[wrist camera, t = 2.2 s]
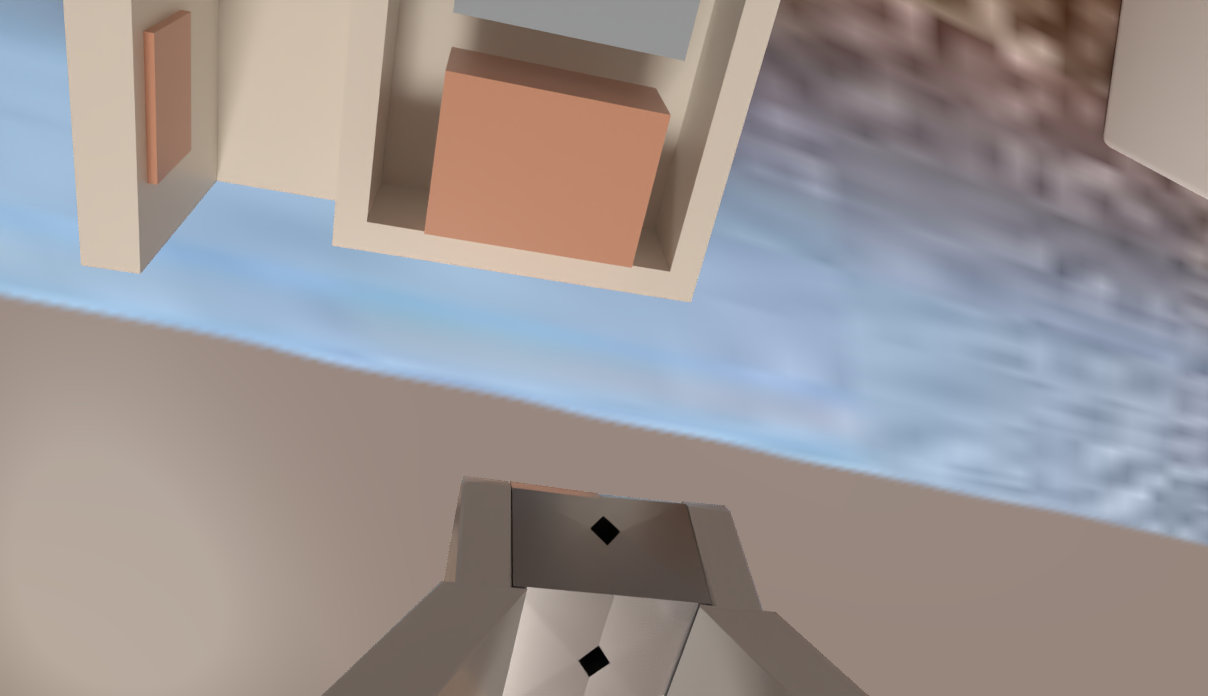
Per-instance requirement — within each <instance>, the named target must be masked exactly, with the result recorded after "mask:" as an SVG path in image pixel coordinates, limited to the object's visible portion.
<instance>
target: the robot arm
mask: <svg viewBox="0 0 1208 696" xmlns="http://www.w3.org/2000/svg"><path fill="white" fill-rule="evenodd" d="M322 696H868V695H867V694H866V693H865V692H864V691H863V690H862V689H860V688H859V687H858V686H857V685H856V684H855V683H854V682H853V681H852V680H851V679H850V678H848V677H847V676H846V675H845V674H844V673H843V672H842V671H841V670H840V669H838V668H837V667H836V666H835V665H834V664H833V663H832V662H831V661H829V660H828V659H827V658H826V657H825V656H824V655H823V654H822V653H821V652H819V651H818V650H817V649H816V648H815V647H814V646H813V645H812V644H811V643H810V642H808V641H807V640H806V639H805V638H804V637H803V636H802V635H801V634H800V633H798V632H797V631H796V630H795V629H794V628H793V627H792V626H790V624H788V623H787V622H786V621H785V620H784V619H783V618H782V617H781V616H779V615H778V614H777V613H776V612H769V611H763V609H762V606H761V603H760V600H759V597H758V594H757V591H756V588H755V585H754V582H753V579H752V576H751V573H750V570H749V567H748V563H747V560H746V558H745V554H744V552H743V549H742V545H741V542H740V539H739V536H738V533H737V530H736V528H735V525H734V521H733V518H732V515H731V512H730V511H729V510H728V509H727V508H726V507H725V506H724V505H715V504H703V503H691V502H681V503H677V502H667V501H659V500H650V499H640V498H631V497H621V496H613V495H604V494H597V493H592V492H584V491H577V490H570V489H562V488H555V487H548V486H541V485H533V484H525V483H519V482H511V481H510V484H509V482H508V481H501V480H493V479H484V478H475V477H469V476H464V477H463V480H462V483H461V486H460V492H459V498H458V503H457V508H456V514H455V520H454V525H453V531H452V537H451V542H450V547H449V553H448V559H447V566H446V573H445V579H444V581H441V582H440V583H439V584H438V585H437V586H436V587H435V588H434V589H433V590H432V591H431V592H429V593H428V594H427V595H426V596H425V597H424V598H423V599H422V600H421V601H420V602H419V603H418V604H417V605H416V606H415V607H414V608H413V609H412V610H411V611H410V612H409V613H408V614H406V615H405V616H404V617H403V618H402V619H401V620H400V621H399V622H398V623H397V624H396V625H395V626H394V627H393V628H392V629H391V630H390V631H389V632H388V633H387V634H386V635H384V637H382V638H381V639H380V640H379V641H378V642H377V643H376V644H375V645H374V646H373V647H372V648H371V649H370V650H369V651H368V652H367V653H366V654H365V655H364V656H363V657H362V658H360V660H358V661H357V662H356V663H355V664H354V665H353V666H352V667H351V668H350V669H349V670H348V671H347V672H346V673H345V674H344V675H343V676H342V677H341V678H340V679H338V680H337V681H336V682H335V683H334V684H333V685H332V686H331V687H330V688H329V689H328V690H327V691H326V692H325V693H324V694H323V695H322Z"/></svg>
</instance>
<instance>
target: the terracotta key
mask: <svg viewBox="0 0 1208 696" xmlns="http://www.w3.org/2000/svg"><path fill="white" fill-rule="evenodd" d="M670 117H671V114H670V113H669V111H668V109H667V107H666V105H665V104H664V102H663V100H662V98H661V96H660V95H659V93H658V91H657V89H656V88H653V87H648V86H643V85H639V84H634V83H629V82H624V81H619V80H614V79H609V78H604V77H599V76H594V75H589V74H584V73H579V72H574V71H570V70H565V69H560V68H555V67H550V66H545V65H540V64H535V63H530V62H525V61H520V60H515V59H510V58H506V57H501V56H496V55H491V54H486V53H481V52H476V51H471V50H466V49H461V48H456V47H452V48H451V51H450V55H449V59H448V63H447V67H446V71H445V78H444V86H443V93H442V101H441V109H440V116H439V124H438V132H437V139H436V147H435V154H434V162H433V170H432V177H431V185H430V193H429V200H428V208H427V215H426V223H425V231H424V234H428V235H434V236H440V237H446V238H452V239H459V240H465V241H471V242H477V243H483V244H489V245H495V246H501V247H507V248H514V249H520V250H526V251H532V252H538V253H544V254H550V255H556V256H562V257H568V258H575V259H581V260H587V261H593V262H599V263H605V264H611V265H617V266H623V267H629V268H632V265H633V261H634V257H635V253H636V249H637V246H638V242H639V238H640V234H641V230H642V226H643V222H644V218H645V214H646V210H647V207H648V203H649V199H650V195H651V191H652V187H653V183H654V179H655V175H656V171H657V167H658V164H659V160H660V156H661V152H662V148H663V144H664V140H665V136H666V132H667V128H668V124H669V121H670Z"/></svg>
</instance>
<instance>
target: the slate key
mask: <svg viewBox="0 0 1208 696" xmlns="http://www.w3.org/2000/svg"><path fill="white" fill-rule="evenodd" d="M699 3H700V0H455V2H454V10H453V13H458V14H463V15H468V16H473V17H477V18H482V19H487V20H492V21H496V22H501V23H506V24H511V25H515V26H520V27H525V28H530V29H534V30H539V31H544V32H549V33H553V34H558V35H563V36H568V37H572V38H577V39H582V40H587V41H592V42H596V43H601V44H606V45H611V46H615V47H620V48H625V49H630V50H634V51H639V52H644V53H649V54H653V55H658V56H663V57H668V58H672V59H677V60H682V61H685V58H686V54H687V50H688V46H689V42H690V39H691V35H692V31H693V27H694V23H695V19H696V15H697V11H698V7H699Z"/></svg>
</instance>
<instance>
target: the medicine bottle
mask: <svg viewBox="0 0 1208 696" xmlns="http://www.w3.org/2000/svg"><path fill="white" fill-rule="evenodd" d="M1103 137H1104V141H1105V143H1106V144H1107V145H1108V146H1109V147H1111V148H1113V149H1115V150H1116V151H1118V152H1120V153H1122V154H1124V155H1126V156H1128V157H1130V158H1131V159H1133V160H1135V161H1137V162H1139V163H1141V164H1143V165H1144V166H1146V167H1148V168H1150V169H1152V170H1154V171H1156V172H1157V173H1159V174H1161V175H1163V176H1165V177H1167V178H1169V179H1171V180H1172V181H1174V182H1176V183H1178V184H1180V185H1182V186H1184V187H1185V188H1187V189H1189V190H1191V191H1193V192H1195V193H1197V194H1198V195H1200V196H1202V197H1204V198H1206V199H1208V0H1122V5H1121V12H1120V19H1119V27H1118V34H1117V41H1116V48H1115V55H1114V63H1113V70H1112V77H1111V84H1110V92H1109V99H1108V106H1107V113H1106V121H1105V128H1104V135H1103Z"/></svg>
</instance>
